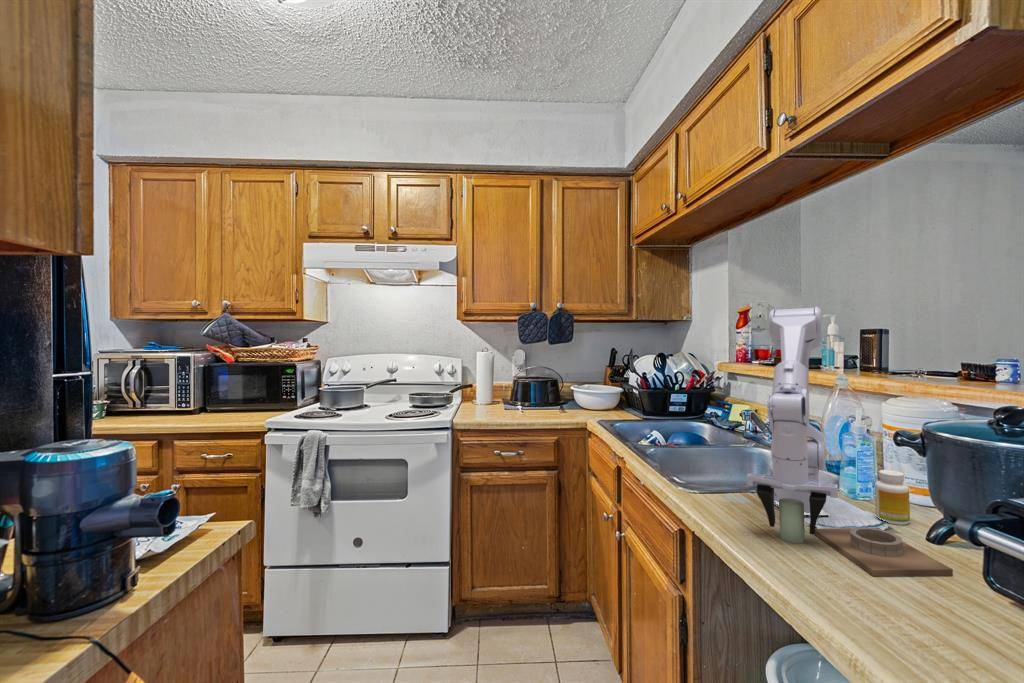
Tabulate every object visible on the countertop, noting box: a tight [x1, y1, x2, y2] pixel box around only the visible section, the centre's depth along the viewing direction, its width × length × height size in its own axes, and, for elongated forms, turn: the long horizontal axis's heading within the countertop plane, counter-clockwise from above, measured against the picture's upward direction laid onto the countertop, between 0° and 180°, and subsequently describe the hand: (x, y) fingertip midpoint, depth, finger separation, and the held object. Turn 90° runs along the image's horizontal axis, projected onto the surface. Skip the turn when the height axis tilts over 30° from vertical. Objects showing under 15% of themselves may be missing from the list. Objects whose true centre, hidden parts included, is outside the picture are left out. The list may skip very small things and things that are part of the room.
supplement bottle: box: [874, 469, 911, 526], centre depth 95 cm, size 5×5×10 cm
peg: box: [778, 498, 806, 544], centre depth 88 cm, size 4×4×7 cm
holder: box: [813, 526, 954, 578], centre depth 82 cm, size 16×12×3 cm
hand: (792, 528), depth 88 cm, fingers open, 6 cm apart
